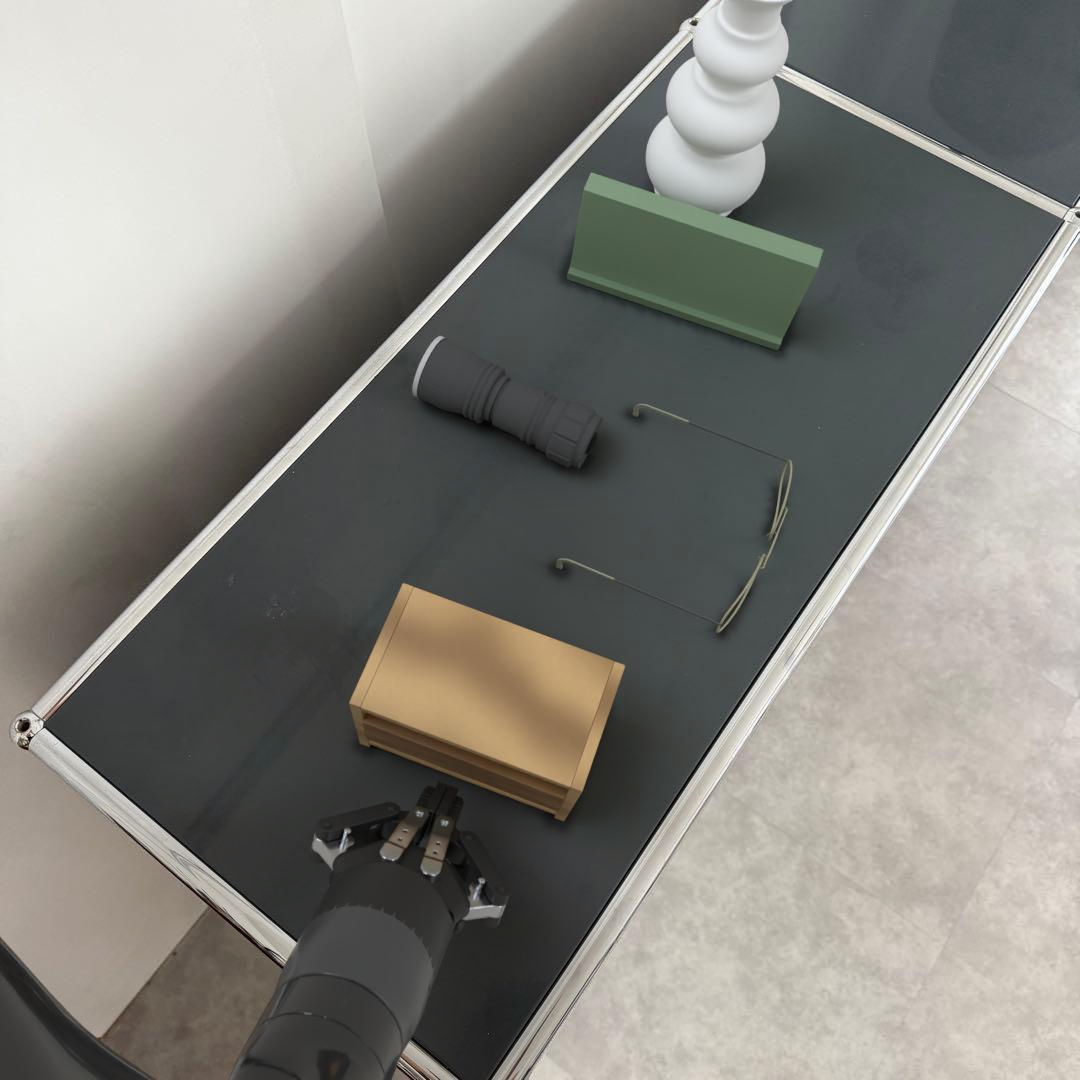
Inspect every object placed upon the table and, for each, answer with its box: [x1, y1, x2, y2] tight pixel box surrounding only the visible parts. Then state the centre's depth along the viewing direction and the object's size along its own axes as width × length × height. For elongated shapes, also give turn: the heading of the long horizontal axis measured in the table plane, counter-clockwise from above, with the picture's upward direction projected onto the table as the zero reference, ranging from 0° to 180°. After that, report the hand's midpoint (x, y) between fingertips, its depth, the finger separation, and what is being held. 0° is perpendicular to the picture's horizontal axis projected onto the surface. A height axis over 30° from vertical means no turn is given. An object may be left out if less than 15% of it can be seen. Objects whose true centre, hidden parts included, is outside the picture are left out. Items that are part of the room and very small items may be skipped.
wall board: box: [566, 172, 824, 352], centre depth 95 cm, size 5×20×11 cm, turn 71°
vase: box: [645, 0, 794, 217], centre depth 93 cm, size 11×11×25 cm
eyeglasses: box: [555, 403, 793, 634], centre depth 88 cm, size 16×15×5 cm
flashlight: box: [411, 335, 604, 469], centre depth 90 cm, size 15×5×5 cm, turn 64°
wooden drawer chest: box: [348, 582, 626, 822], centre depth 77 cm, size 9×16×11 cm, turn 70°
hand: (444, 795), depth 75 cm, fingers closed
